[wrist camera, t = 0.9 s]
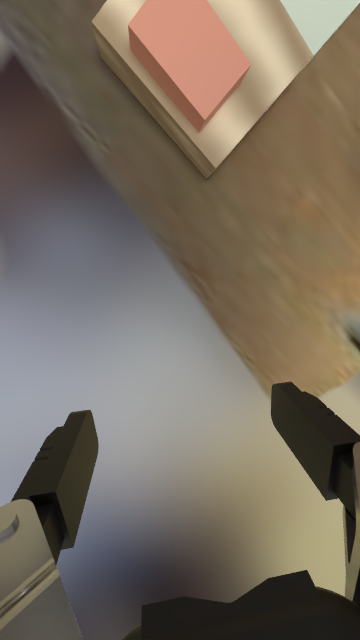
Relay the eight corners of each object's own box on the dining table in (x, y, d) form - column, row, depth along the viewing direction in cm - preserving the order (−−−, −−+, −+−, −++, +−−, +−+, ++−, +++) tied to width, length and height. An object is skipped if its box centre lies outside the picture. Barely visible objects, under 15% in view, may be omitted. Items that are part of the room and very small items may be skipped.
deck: (192, -68, 23) (201, -131, 19) (290, 82, 27) (313, 55, 24) (100, 57, 25) (91, 21, 21) (207, 179, 29) (215, 168, 25)
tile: (174, -10, 21) (177, -43, 19) (240, 83, 24) (251, 64, 21) (130, 49, 22) (127, 24, 19) (199, 132, 24) (204, 120, 22)
